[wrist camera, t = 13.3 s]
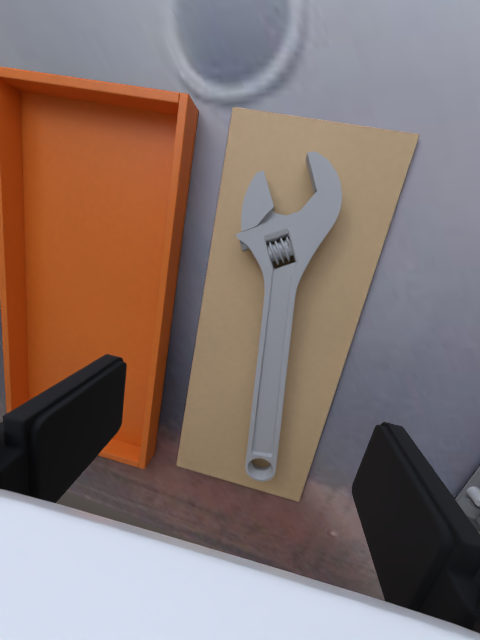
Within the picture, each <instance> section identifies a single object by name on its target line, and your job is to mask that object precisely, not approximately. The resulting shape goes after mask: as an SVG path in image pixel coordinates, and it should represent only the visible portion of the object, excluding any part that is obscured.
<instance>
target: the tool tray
mask: <svg viewBox="0 0 480 640" xmlns="http://www.w3.org/2000/svg"><path fill="white" fill-rule="evenodd" d="M198 113H199V110H198V109H197V107H196V106H195V104H194V102H193V101H192V99H191V97H190V96H189V94H185V93H178V92H171V91H165V90H158V89H151V88H144V87H137V86H130V85H123V84H116V83H109V82H103V81H96V80H89V79H82V78H75V77H68V76H61V75H54V74H47V73H40V72H34V71H27V70H20V69H13V68H6V67H0V299H1V318H2V337H3V355H4V374H5V392H6V411H7V413H9V412H10V411H12V410H14V409H15V408H17V407H19V406H20V405H22V404H24V403H25V402H27V401H29V400H30V399H32V398H34V397H35V396H37V395H39V394H40V393H42V392H44V391H45V390H47V389H49V388H50V387H52V386H54V385H55V384H57V383H59V382H60V381H62V380H64V379H65V378H67V377H69V376H70V375H72V374H74V373H75V372H77V371H79V370H80V369H82V368H84V367H85V366H87V365H89V364H90V363H92V362H94V361H95V360H97V359H99V358H100V357H102V356H104V355H106V354H109V355H113V356H118V357H122V358H123V361H124V362H125V363H126V364H127V370H126V382H125V394H124V406H123V418H122V425H121V427H120V429H119V431H118V432H117V434H116V435H115V436H114V437H113V438H112V439H111V441H110V442H109V443H108V444H107V445H106V446H105V447H104V448H103V450H102V451H101V452H100V453H99V454H98V456H102V457H105V458H108V459H112V460H115V461H118V462H122V463H125V464H128V465H132V466H135V467H139V468H142V469H145V468H146V466H147V464H148V463H149V461H150V460H151V458H152V457H153V455H154V454H155V447H156V440H157V432H158V424H159V416H160V408H161V401H162V393H163V385H164V377H165V370H166V362H167V354H168V346H169V338H170V331H171V323H172V315H173V307H174V299H175V292H176V284H177V276H178V268H179V261H180V253H181V245H182V237H183V229H184V222H185V214H186V206H187V198H188V190H189V183H190V175H191V167H192V159H193V151H194V144H195V136H196V128H197V120H198Z"/></svg>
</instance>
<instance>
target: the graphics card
mask: <svg viewBox="0 0 480 640" xmlns="http://www.w3.org/2000/svg"><path fill="white" fill-rule="evenodd" d="M455 500H456V502H457V503H458V504H459V506H460V507H461V508H462V510H463V511H464V513H465V514H466V515H467V517H468V518H469V520H470V521H471V522H472V524H473V525H474V527H475V528H476V529H477V531H478V532H479V534H480V466H479V468H478V469H477V470H476V472H475V473H474V474H473V476H472V477H471V478H470V480H469V481H468V482H467V484H466V485H465V486H464V488H463V489H462V490H461V492H460V493H459V494H458V496H457V497H456V498H455Z"/></svg>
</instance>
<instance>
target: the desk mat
mask: <svg viewBox="0 0 480 640" xmlns="http://www.w3.org/2000/svg"><path fill="white" fill-rule="evenodd" d="M418 138H419V134H414V133H407V132H400V131H393V130H387V129H380V128H373V127H366V126H359V125H353V124H346V123H339V122H332V121H326V120H319V119H312V118H305V117H298V116H292V115H285V114H278V113H271V112H265V111H258V110H251V109H244V108H237V107H233V110H232V116H231V122H230V129H229V135H228V141H227V148H226V154H225V160H224V167H223V173H222V179H221V186H220V192H219V198H218V205H217V211H216V217H215V224H214V230H213V236H212V243H211V249H210V255H209V262H208V268H207V274H206V281H205V287H204V293H203V300H202V306H201V312H200V319H199V325H198V331H197V338H196V344H195V350H194V357H193V363H192V369H191V376H190V382H189V389H188V395H187V401H186V408H185V414H184V420H183V427H182V433H181V439H180V446H179V452H178V458H177V465H176V466H179V467H182V468H186V469H189V470H193V471H196V472H199V473H203V474H206V475H209V476H213V477H216V478H220V479H223V480H226V481H230V482H233V483H237V484H240V485H243V486H247V487H250V488H254V489H257V490H260V491H264V492H267V493H270V494H274V495H277V496H281V497H284V498H287V499H291V500H294V501H298V502H299V500H300V497H301V494H302V491H303V488H304V485H305V482H306V479H307V476H308V473H309V470H310V467H311V464H312V461H313V458H314V455H315V452H316V449H317V446H318V443H319V439H320V436H321V433H322V430H323V427H324V424H325V421H326V418H327V415H328V412H329V409H330V406H331V403H332V400H333V397H334V394H335V391H336V388H337V385H338V382H339V379H340V375H341V372H342V369H343V366H344V363H345V360H346V357H347V354H348V351H349V348H350V345H351V342H352V339H353V336H354V333H355V330H356V327H357V324H358V321H359V318H360V315H361V312H362V308H363V305H364V302H365V299H366V296H367V293H368V290H369V287H370V284H371V281H372V278H373V275H374V272H375V269H376V266H377V263H378V260H379V257H380V254H381V251H382V248H383V244H384V241H385V238H386V235H387V232H388V229H389V226H390V223H391V220H392V217H393V214H394V211H395V208H396V205H397V202H398V199H399V196H400V193H401V190H402V187H403V184H404V180H405V177H406V174H407V171H408V168H409V165H410V162H411V159H412V156H413V153H414V150H415V147H416V144H417V141H418ZM312 151H314V152H318V153H319V154H321V155H322V156H323V157H325V158H326V159H328V160H329V162H330V163H331V165H332V166H333V168H334V169H335V171H336V172H337V175H338V177H339V180H340V182H341V190H342V203H341V208H340V211H339V214H338V217H337V219H336V221H335V223H334V225H333V226H332V228H331V229H330V230H329V232H328V233H327V235H326V236H325V238H324V239H323V240H322V242H321V243H320V245H319V246H318V248H317V249H316V251H315V252H314V254H313V256H312V257H311V259H310V261H309V263H308V265H307V267H306V268H305V270H304V272H303V274H302V276H301V279H300V281H299V283H298V286H297V290H296V295H295V301H294V310H293V319H292V328H291V337H290V346H289V356H288V365H287V374H286V383H285V392H284V401H283V410H282V419H281V428H280V437H279V446H278V455H277V464H276V472H275V475H274V477H273V478H272V479H270V480H268V481H264V482H262V481H256V480H254V479H252V478H251V477H250V476H249V475H248V474H247V472H246V470H245V463H246V455H247V446H248V437H249V428H250V419H251V411H252V402H253V393H254V384H255V375H256V366H257V358H258V349H259V340H260V331H261V322H262V314H263V305H264V296H265V283H264V277H263V273H262V270H261V267H260V265H259V263H258V261H257V260H256V258H255V256H254V254H253V253H252V251H251V250H249V248H248V249H247V251H244V252H243V251H242V248H241V245H240V240H239V239H238V238H237V236H236V235H235V234H237V233H240V232H242V230H241V214H242V205H243V201H244V197H245V194H246V191H247V189H248V187H249V185H250V183H251V181H252V179H253V177H254V176H255V174H256V173H257V172H260V171H263V170H264V174H265V177H266V181H267V184H268V187H269V191H270V194H271V198H272V201H273V205H274V209H275V210H274V211H273V212H275V213H278V214H281V215H289V214H292V213H295V212H298V211H300V210H301V209H302V208H303V207H304V206H305V204H306V203H307V202H308V201H309V200H310V199H311V198H312V196H313V195H314V191H313V188H312V184H311V180H310V176H309V172H308V168H307V164H306V156H307V152H312ZM288 239H289V237H288ZM282 240H283V241H284V240H285V238H284V239H282ZM278 242H280V241H279V240H278V241H277V243H278ZM271 244H274V242H272V243H271ZM267 245H268V246H269V243H268V244H267ZM293 262H295V259H294V255H293V256H290V261H288V259H287V258H284V263H283V262H282V260H279V265H277V263H276V261H274V262H272V263H273V266H274V269H275V268H278V267H281V266H284V265H287V264H290V263H293ZM252 463H253V464H255V465H256V466H259V467H267V466H269V465H270V462H269V461H267V460H265V459H262V458H256V459H253V460H252Z"/></svg>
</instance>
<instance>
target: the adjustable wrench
mask: <svg viewBox="0 0 480 640" xmlns="http://www.w3.org/2000/svg"><path fill="white" fill-rule="evenodd" d="M306 164H307V168H308V172H309V176H310V180H311V184H312V188H313V191H314V195H313V196H312V198H311V199H310V200H309V201H308V202H307V203H306V204H305V206H304V207H303V208H302V209H301V210H300V211H298V212H295V213H292V214H289V215H281V214H278V213H275V212H273V211H274V210H275V209H274V205H273V201H272V198H271V194H270V191H269V187H268V184H267V181H266V177H265V174H264V170H263V171H260V172H257V173H256V174H255V176H254V177H253V179H252V181H251V183H250V185H249V187H248V189H247V191H246V194H245V197H244V201H243V205H242V214H241V230H242V232H240V233H237V234H235V235H236V236H237V238H238V239H239V240H240V245H241V248H242V251H243V252H244V251H247V249H248V248H249V250H251V251H252V253H253V254H254V256H255V258H256V260H257V261H258V263H259V265H260V267H261V270H262V273H263V277H264V283H265V296H264V305H263V314H262V322H261V331H260V340H259V349H258V358H257V366H256V375H255V384H254V393H253V402H252V411H251V419H250V428H249V437H248V446H247V455H246V463H245V470H246V472H247V474H248V475H249V476H250V477H251V478H252V479H254V480H256V481H262V482H264V481H268V480H270V479H272V478H273V477H274V475H275V472H276V464H277V455H278V446H279V437H280V428H281V419H282V410H283V401H284V392H285V383H286V374H287V365H288V356H289V346H290V337H291V328H292V319H293V310H294V301H295V295H296V290H297V286H298V283H299V281H300V279H301V276H302V274H303V272H304V270H305V268H306V267H307V265H308V263H309V261H310V259H311V257H312V256H313V254H314V252H315V251H316V249H317V248H318V246H319V245H320V243H321V242H322V240H323V239H324V238H325V236H326V235H327V233H328V232H329V230H330V229H331V228H332V226H333V225H334V223H335V221H336V219H337V217H338V214H339V211H340V208H341V203H342V190H341V182H340V180H339V177H338V175H337V172H336V171H335V169H334V168H333V166H332V165H331V163H330V162H329V160H328V159H326V158H325V157H323V156H322V155H321V154H319V153H318V152H314V151H312V152H307V156H306ZM288 237H289V239H288ZM284 238H285V240H284V241H283V240H282V239H284ZM278 240H279V241H280V242H278V243H277V241H278ZM272 242H274V244H271V243H272ZM268 243H269V246H268V245H267V244H268ZM293 255H294V259H295V262H293V263H290V264H287V265H284V266H281V267H278V268H275V269H274V266H273V263H272V262H274V261H276V263H277V265H279V260H282V262H283V263H284V258H287V259H288V261H290V256H293ZM256 458H262V459H265V460H267V461H269V462H270V465H269V466H267V467H259V466H256V465H255V464H253V463H252V460H253V459H256Z"/></svg>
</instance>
